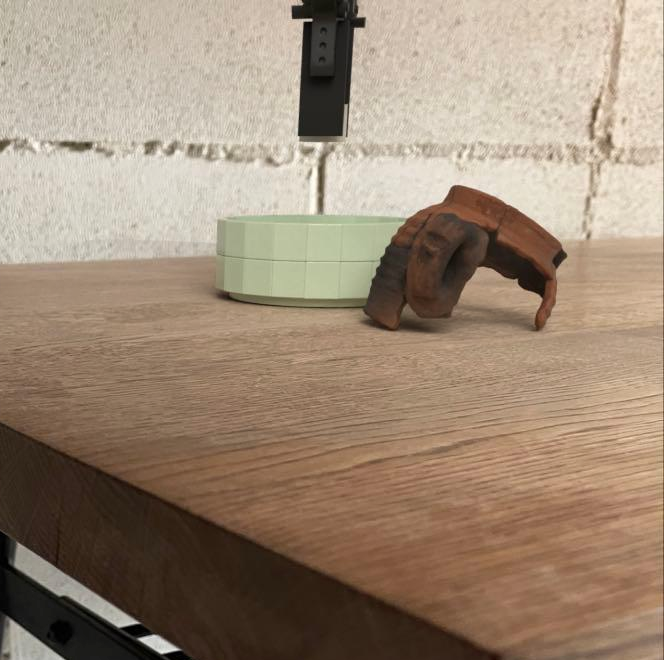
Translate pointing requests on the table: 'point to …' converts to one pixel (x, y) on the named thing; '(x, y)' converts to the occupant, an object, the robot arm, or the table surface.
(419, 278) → the ram-horned helmet
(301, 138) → the white cube
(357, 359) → the table surface
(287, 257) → the bowl
